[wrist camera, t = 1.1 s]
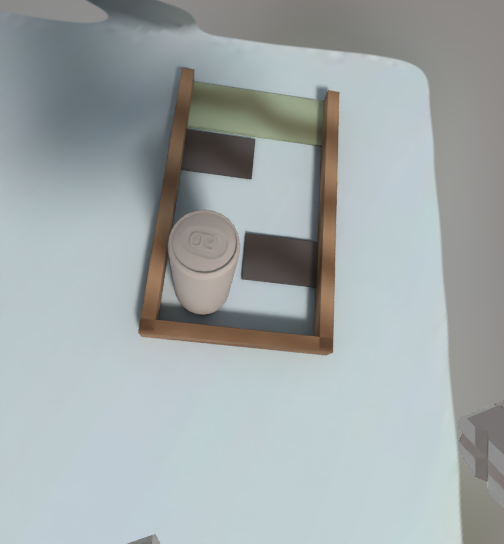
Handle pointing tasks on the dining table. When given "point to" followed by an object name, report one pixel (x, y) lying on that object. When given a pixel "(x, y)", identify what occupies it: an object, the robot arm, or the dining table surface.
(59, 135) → the dining table surface
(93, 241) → the dining table surface
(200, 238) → the beverage can
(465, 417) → the robot arm
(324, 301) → the box
